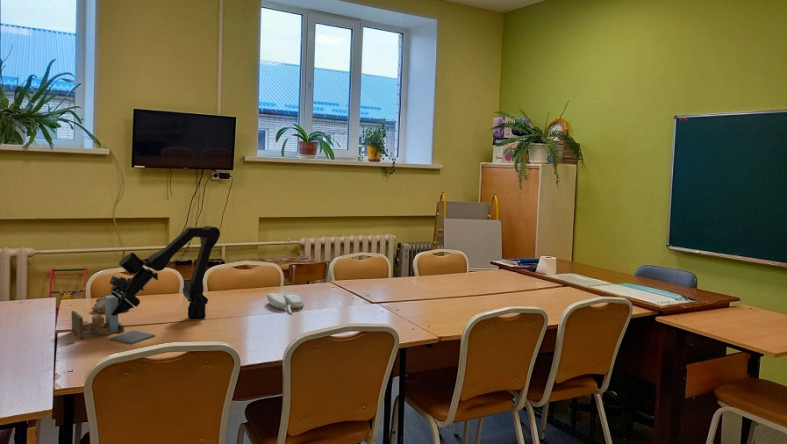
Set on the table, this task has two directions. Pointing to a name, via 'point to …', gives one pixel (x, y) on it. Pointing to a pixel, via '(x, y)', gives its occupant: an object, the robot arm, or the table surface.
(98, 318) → the offcut tall
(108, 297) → the pale blue wedge-ended prism
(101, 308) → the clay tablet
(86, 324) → the offcut short
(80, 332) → the rack
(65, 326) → the table surface
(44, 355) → the table surface
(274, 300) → the lung model
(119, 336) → the mat
